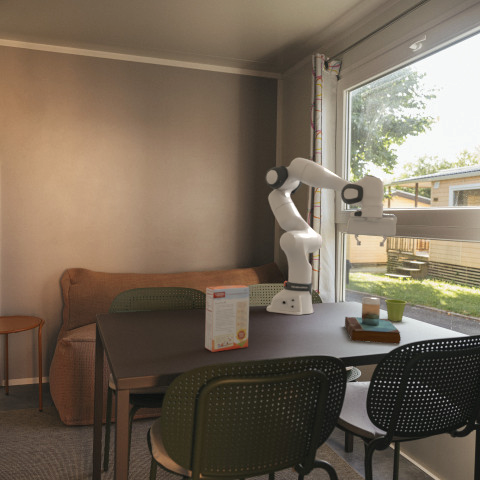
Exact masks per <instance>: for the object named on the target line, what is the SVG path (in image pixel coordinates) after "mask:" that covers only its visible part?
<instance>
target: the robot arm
mask: <svg viewBox="0 0 480 480" xmlns="http://www.w3.org/2000/svg"><path fill="white" fill-rule="evenodd" d="M264 180H265V183H266V185H267V186H268V187H270V188H271V189H273V190H271V192H270V193H269V195H268V196H267V199H268V203H269V206H270V209H271V211H272V213H273V215H274V217H275V219H276V221H277V222H278V225H279V227H280V228H281V229H282V230H284V231H285V232H284V233H283V234H281V236H280V238H279V245H280V249H281V250H282V251H283V252H284V254H285V256H286V259H287V265H288V280H285V281H284V282H283V289H281V290H280V291H279V292H278V293H276V294H275V295H273V297H272V299H271V303H270V305H267V306H266V311H267V312H270V313H278V314H286V315H295V316H300V315H309V314H313V313H314V308H313V304H312V303H313V301H312V294H313V282H312V279H313V278H312V277H313V267H312V264H311V263H310V262H309V259H308V256H307V255H308V254H312V253H315V252H317V251H319V250H320V249H321V248H322V246H323V237H322V235H320V233H319V232H317V231H315V230H314V229H313V228H312V227H311V226H310V225H309V224H308V223H307V221H306V220H305V219H304V218H303V216H302V215H301V213H300V212H299V211H298V209H297V207H296V205H295V203H294V201H293V200H292V198H291V196H292V195H295V194H296V192H297V191H298V190H299V189H300V188H301V187H302V185H303V184H305V185H307V186H309V187H311V188H317V189H325V190H326V189H327V190H332V191H336V192H339V193H340V197H341V201H342V202H343V203H344V204H346V205H348V206H354V207H361V209H357V210H354V211H351V212H350V218H349V219H348V221H347V226H346V234H347V235H354V238H355V240H356V245H357V246H361V245H362V244H361V243H362V242H361V241H362V240H359V239H358V238H359V235H361V236H362V235H363V236H382V238H383V240H382V241H379V247H384V246H385V242H386V240H387V239H388V237H395V236H396V234H397V226H396V225H397V224H398V218H397V216H396V215H394V214H393V213H390V214H389V213H383V212H384V204H383V203H384V202H383V200H384V199H383V198H384V193H385V192H384V191H385V188H384V187H385V185H384V180H383V178H382V177H381V176H377V175H371V174H366V175H364V176H363V177H362V178H360V179H358V180H357V181H354V182H352V181H349V180H348V179H345V178H343V177H340V176H339V175H337V174H336V173H334V172H332V171H330V170H329V169H328V168H326V167H324V166H323V165H321V164H320V163H317V162H316V161H313V160H310V159H307V158H303V157H296V158H293V159H292V161H290V164H289V166H285V165H280V166H274V167H271V168H269V169H268V170H267V171H266V174H265V178H264Z"/></svg>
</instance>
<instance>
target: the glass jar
mask: <svg viewBox="0 0 480 480" xmlns="http://www.w3.org/2000/svg"><path fill="white" fill-rule="evenodd" d="M361 302H362V303H361V318H362V323H363V324H368V325H379V319H380V313H381V307H380V306H381V298H379V297H374V296H373V297H371V296H363V297H362V301H361Z"/></svg>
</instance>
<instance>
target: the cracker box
mask: <svg viewBox="0 0 480 480" xmlns="http://www.w3.org/2000/svg"><path fill="white" fill-rule="evenodd" d="M250 291H251V290H250V287H249V286H247V285H244V284H238V285H236V284H231V285H218V286H207V287H205V332H204V334H205V335H204V348H205V349H207V350H208V351H210V352H212V353H215V352H223V351H229V350H230V351H231V350H237V349H243V348H249V323H250V321H249V318H250Z"/></svg>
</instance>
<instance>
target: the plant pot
mask: <svg viewBox="0 0 480 480" xmlns="http://www.w3.org/2000/svg"><path fill="white" fill-rule="evenodd" d="M384 302H385V305H386V313H387V319H388V320H389V321H392V322H402V321H403V317H404V311H405V307H406V305H407V301H405V300H402V299H401V300H400V299H385V300H384Z"/></svg>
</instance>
